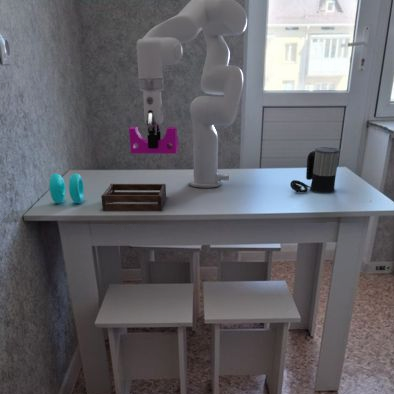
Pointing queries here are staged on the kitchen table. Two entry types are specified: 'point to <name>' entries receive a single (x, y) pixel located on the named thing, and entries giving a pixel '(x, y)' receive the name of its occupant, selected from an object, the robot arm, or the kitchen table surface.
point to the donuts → (59, 188)
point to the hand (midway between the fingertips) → (154, 145)
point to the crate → (134, 197)
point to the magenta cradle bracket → (163, 144)
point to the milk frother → (320, 171)
